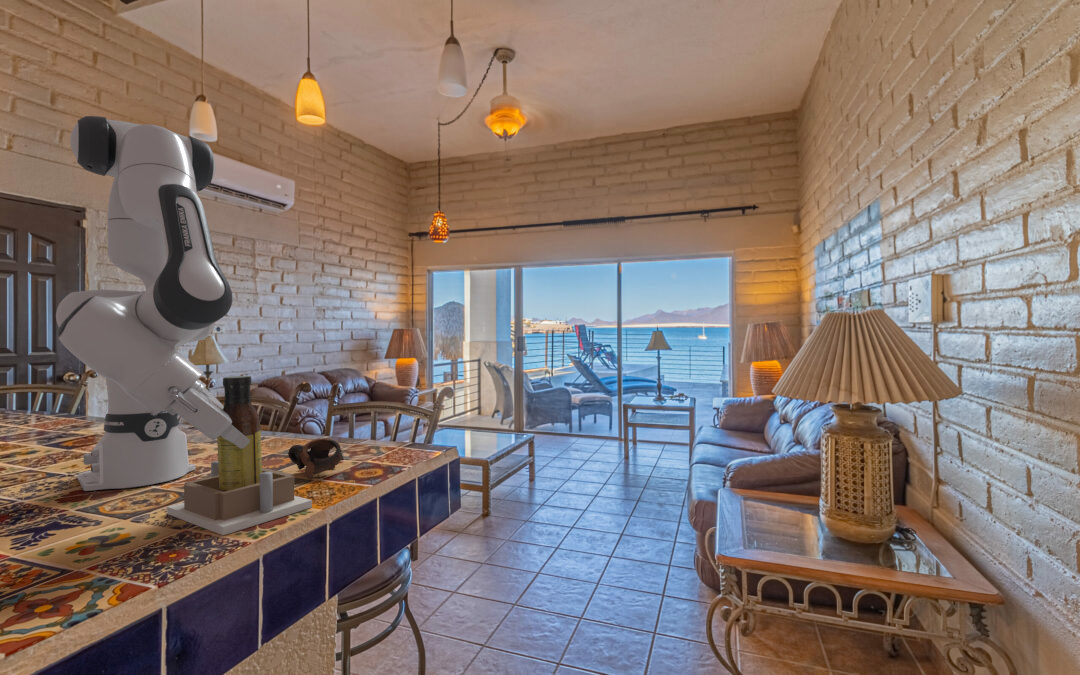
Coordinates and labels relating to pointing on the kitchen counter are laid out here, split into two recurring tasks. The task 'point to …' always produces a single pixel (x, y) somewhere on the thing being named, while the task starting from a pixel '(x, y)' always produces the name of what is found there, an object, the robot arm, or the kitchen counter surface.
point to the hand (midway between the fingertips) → (244, 440)
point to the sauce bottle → (232, 460)
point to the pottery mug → (315, 456)
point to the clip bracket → (238, 502)
